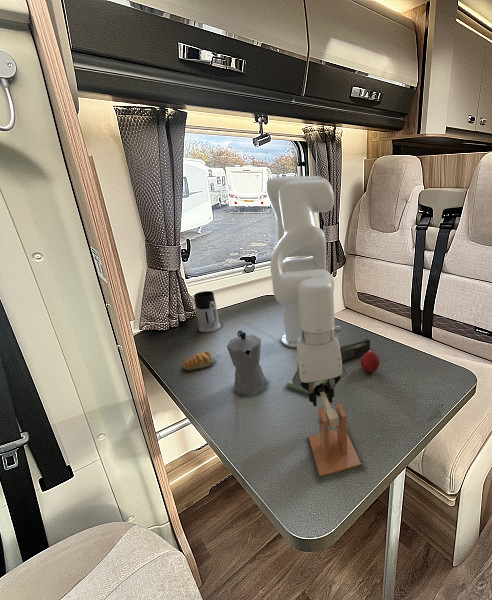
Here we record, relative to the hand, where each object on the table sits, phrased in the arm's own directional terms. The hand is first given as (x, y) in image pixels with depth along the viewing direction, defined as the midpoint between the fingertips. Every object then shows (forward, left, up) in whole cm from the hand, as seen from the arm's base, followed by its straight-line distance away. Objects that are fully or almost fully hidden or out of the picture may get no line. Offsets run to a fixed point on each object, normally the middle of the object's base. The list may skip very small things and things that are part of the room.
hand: (321, 400), depth 77 cm
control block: (-13, -12, -7) cm, 19 cm away
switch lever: (+3, +3, +1) cm, 5 cm away
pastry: (-5, -51, -7) cm, 52 cm away
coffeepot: (-4, -28, -7) cm, 29 cm away
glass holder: (-26, -69, -7) cm, 74 cm away
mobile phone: (-32, -7, -7) cm, 34 cm away
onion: (-26, +2, -7) cm, 27 cm away
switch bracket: (+7, +7, -7) cm, 12 cm away
